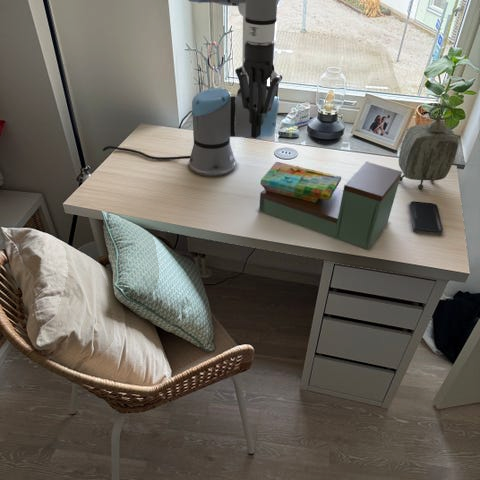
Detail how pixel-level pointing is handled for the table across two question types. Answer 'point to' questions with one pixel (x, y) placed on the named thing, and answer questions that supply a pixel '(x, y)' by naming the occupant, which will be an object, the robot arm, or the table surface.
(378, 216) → the step shelf
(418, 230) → the phone
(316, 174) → the puzzle game
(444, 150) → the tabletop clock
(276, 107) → the robot arm
